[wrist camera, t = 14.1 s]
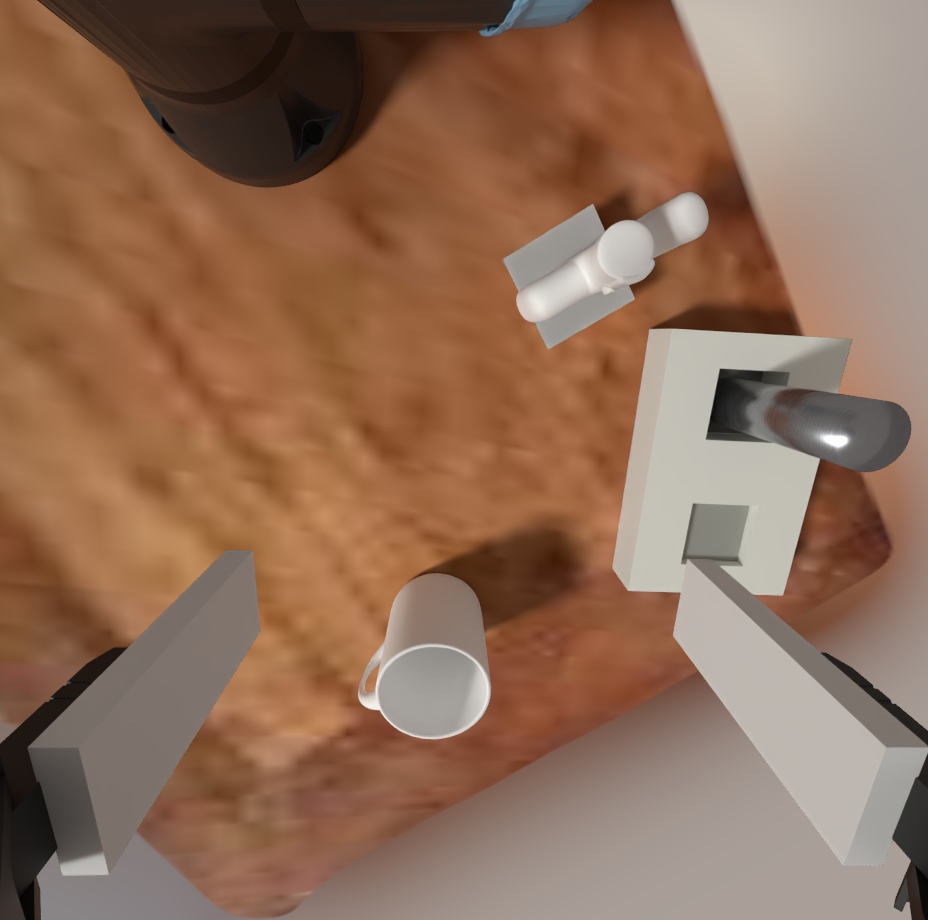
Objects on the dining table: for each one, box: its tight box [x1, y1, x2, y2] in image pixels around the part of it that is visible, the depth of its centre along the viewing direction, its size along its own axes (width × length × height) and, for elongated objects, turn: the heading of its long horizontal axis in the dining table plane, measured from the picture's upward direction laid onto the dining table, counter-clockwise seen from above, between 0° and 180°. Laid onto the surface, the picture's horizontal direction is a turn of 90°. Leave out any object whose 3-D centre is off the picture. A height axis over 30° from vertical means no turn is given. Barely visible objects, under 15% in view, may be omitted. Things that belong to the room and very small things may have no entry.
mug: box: [358, 573, 491, 739], centre depth 39 cm, size 9×12×11 cm
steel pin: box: [710, 378, 911, 472], centre depth 32 cm, size 4×4×14 cm
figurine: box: [503, 192, 709, 349], centre depth 30 cm, size 7×9×15 cm
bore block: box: [612, 329, 852, 595], centre depth 39 cm, size 22×14×4 cm, turn 177°
